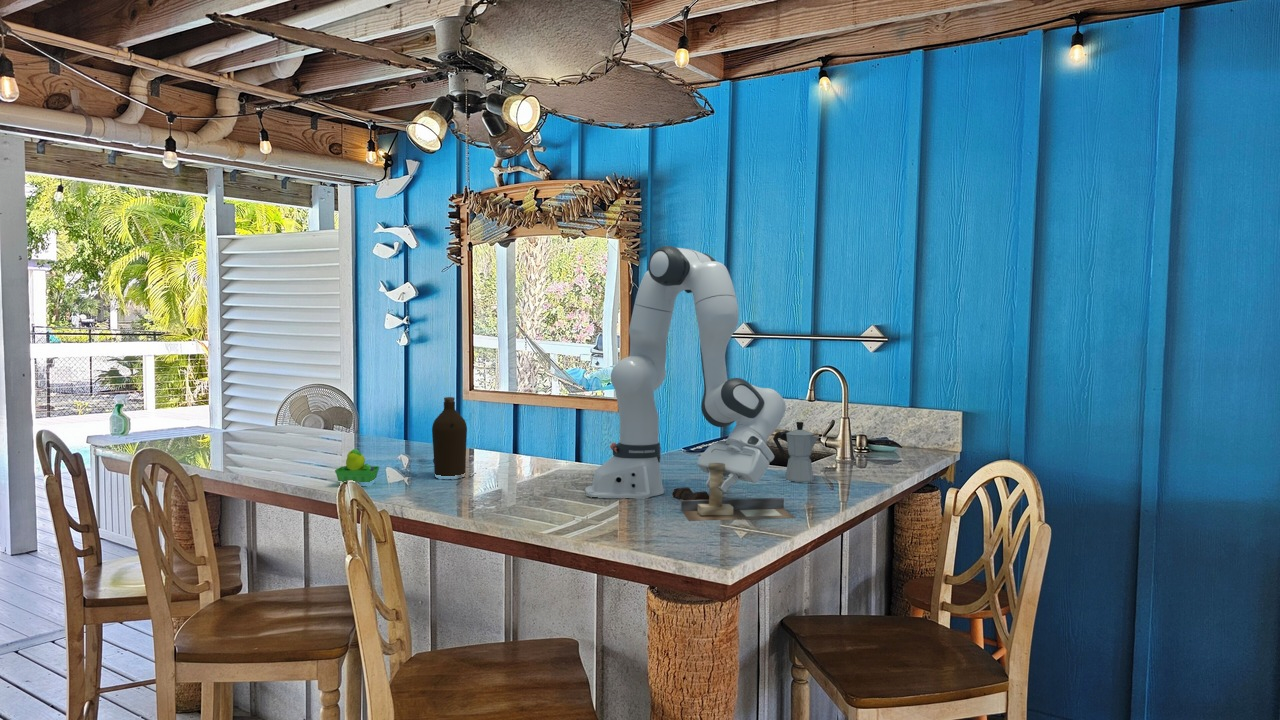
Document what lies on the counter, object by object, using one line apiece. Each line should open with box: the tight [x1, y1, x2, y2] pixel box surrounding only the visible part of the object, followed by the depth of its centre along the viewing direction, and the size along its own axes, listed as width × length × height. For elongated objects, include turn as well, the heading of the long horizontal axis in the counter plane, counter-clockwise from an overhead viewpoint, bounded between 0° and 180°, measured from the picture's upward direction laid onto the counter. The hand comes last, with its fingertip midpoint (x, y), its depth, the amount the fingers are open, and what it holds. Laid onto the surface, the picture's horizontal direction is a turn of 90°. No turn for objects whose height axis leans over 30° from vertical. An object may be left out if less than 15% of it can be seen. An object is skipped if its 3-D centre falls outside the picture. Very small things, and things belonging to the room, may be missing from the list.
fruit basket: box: [334, 448, 380, 483], centre depth 246 cm, size 11×9×11 cm
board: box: [680, 497, 796, 522], centre depth 204 cm, size 26×12×4 cm, turn 97°
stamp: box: [697, 463, 733, 515], centre depth 203 cm, size 8×4×12 cm, turn 98°
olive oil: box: [431, 396, 468, 476], centre depth 259 cm, size 11×11×25 cm
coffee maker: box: [772, 421, 820, 483], centre depth 255 cm, size 15×9×18 cm, turn 59°
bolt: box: [671, 486, 709, 500], centre depth 220 cm, size 6×5×15 cm
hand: (714, 488), depth 203 cm, fingers closed on stamp, 3 cm apart
